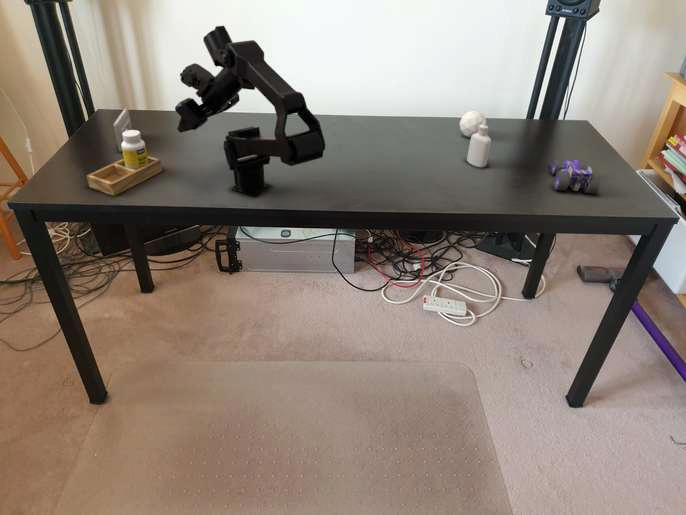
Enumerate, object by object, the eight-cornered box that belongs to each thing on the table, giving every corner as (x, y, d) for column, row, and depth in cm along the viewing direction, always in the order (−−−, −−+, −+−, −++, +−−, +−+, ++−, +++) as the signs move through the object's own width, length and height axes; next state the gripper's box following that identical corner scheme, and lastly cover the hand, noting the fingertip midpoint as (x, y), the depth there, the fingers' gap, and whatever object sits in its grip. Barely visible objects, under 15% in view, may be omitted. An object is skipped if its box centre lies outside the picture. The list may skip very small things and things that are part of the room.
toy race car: (581, 170, 142) (589, 148, 138) (595, 197, 130) (604, 173, 126) (545, 167, 143) (552, 144, 139) (556, 193, 131) (563, 169, 127)
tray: (162, 170, 132) (160, 159, 130) (114, 196, 121) (111, 184, 119) (138, 163, 135) (136, 152, 133) (89, 187, 124) (86, 175, 122)
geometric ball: (462, 144, 160) (450, 120, 159) (483, 132, 162) (472, 108, 160) (473, 141, 153) (461, 116, 152) (495, 128, 154) (484, 103, 153)
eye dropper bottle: (480, 159, 146) (489, 117, 139) (487, 168, 141) (496, 125, 134) (465, 159, 145) (473, 117, 138) (471, 168, 141) (480, 125, 134)
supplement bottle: (143, 176, 128) (135, 138, 122) (122, 173, 128) (114, 135, 123) (153, 167, 132) (147, 130, 126) (134, 164, 133) (126, 127, 127)
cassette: (124, 152, 140) (118, 124, 136) (117, 152, 140) (111, 124, 135) (135, 134, 150) (129, 108, 145) (128, 134, 150) (122, 107, 145)
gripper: (223, 44, 121) (188, 85, 130) (176, 65, 107) (140, 109, 116) (256, 83, 124) (219, 121, 133) (214, 109, 109) (176, 149, 119)
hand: (190, 124), depth 125 cm, fingers open, 9 cm apart
